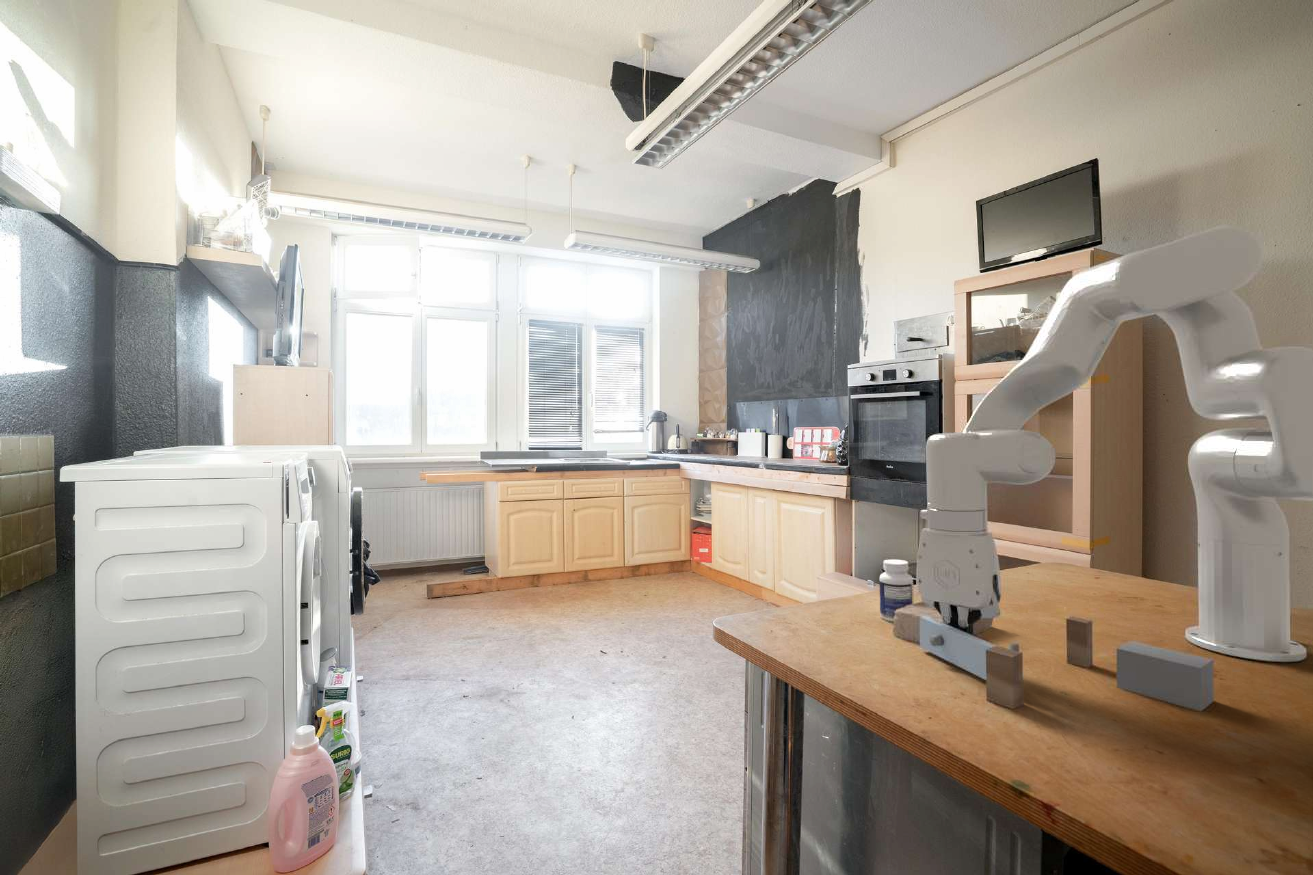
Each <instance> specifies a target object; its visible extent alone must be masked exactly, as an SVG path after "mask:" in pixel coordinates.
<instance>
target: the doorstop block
mask: <svg viewBox="0 0 1313 875" xmlns="http://www.w3.org/2000/svg"><path fill="white" fill-rule="evenodd" d="M1214 679H1215V678H1214V659H1212V658H1207V657H1203V656H1199V655H1193V654H1190V653H1185V652H1182V651H1181V652H1180V651H1177V650H1173V649H1168V648H1163V647H1159V646H1155V645H1150V644H1147V643H1141V642H1137V641H1132V640H1130V641H1128V642H1125V643H1124V644H1122V645H1121V646H1119V647H1117V648H1116V688H1117V689H1119V690H1123V691H1128V692H1132V693H1135V694H1138V695H1141V696H1145V697H1149V698H1152V699H1156V700H1160V701H1163V702H1166V701H1167V703H1170V704H1173V705H1176V706H1177V705H1178V706H1180V707H1184V708H1188V709H1192V710H1195V711H1197V712H1202V711H1203V710H1205V709H1206V708H1207V707H1209V704H1210V705H1211V704H1212V703H1214V701H1215V694H1214V693H1215V690H1214V686H1215V685H1214V684H1215V682H1214ZM1204 708H1205V709H1204Z"/></svg>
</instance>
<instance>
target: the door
mask: <svg viewBox="0 0 1313 875" xmlns="http://www.w3.org/2000/svg"><path fill="white" fill-rule="evenodd" d="M994 646H998V645H997V644H994V643H991V642H989V641H987V640H985V639H982V638H979V637H977V636H976V635H970V634H968V633H966V632H963V631H961V630H958V629H956V628H954V627H951V626H949V625H947V624H944V623H942V622H939V621H937V620H935V619H932V618H930V617H928V616H923V617H920V644H919V647H920V648H921V649H923V650H925V651H927V652H929V653H931V654H932V655H936V657H939V658H941V659H943V660H945V661H948V662H949V663H951V664H953V665H955V666H957V667H959V668H961V669H964V670H965V671H967V672H969V673H972V675H975V676H977V677H979V678H981V679H983V680H985V681H986V649H989V648H991V647H994ZM1008 646H1009V648H1008V649H1011V650H1015V651H1018V652H1020V645H1019V643H1015V642H1009V644H1008Z"/></svg>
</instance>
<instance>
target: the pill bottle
mask: <svg viewBox="0 0 1313 875" xmlns="http://www.w3.org/2000/svg"><path fill="white" fill-rule="evenodd" d="M882 566H883V570H884V572H882V573H881V574H880V575H879V615H880V618H881V619H883V620H884V621H887V622H892V623H894V616H895V611H896V610H898V609H900V608H902V607H903V608H904V607H905V606H907V605H911V604H914V579H913V577H912V575H911V574H910V573H908V572H909V569H910V568H909V561H907V560H904V559H885V560H883V565H882Z"/></svg>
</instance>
